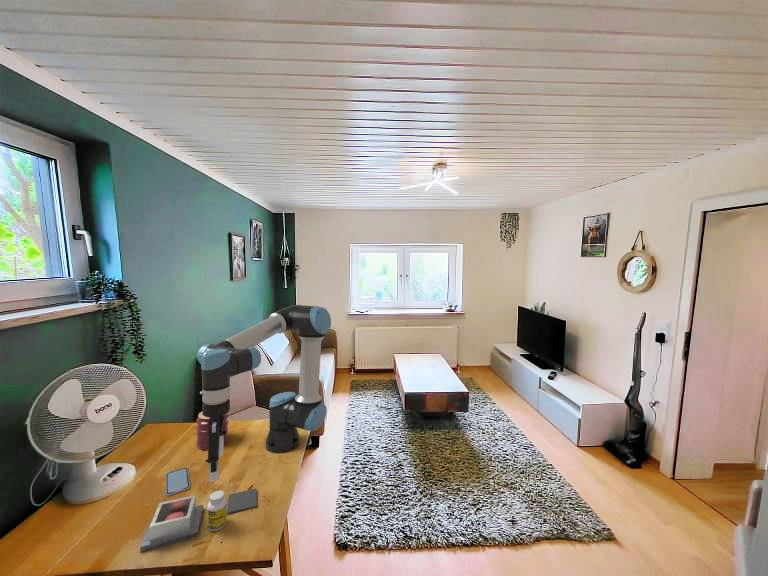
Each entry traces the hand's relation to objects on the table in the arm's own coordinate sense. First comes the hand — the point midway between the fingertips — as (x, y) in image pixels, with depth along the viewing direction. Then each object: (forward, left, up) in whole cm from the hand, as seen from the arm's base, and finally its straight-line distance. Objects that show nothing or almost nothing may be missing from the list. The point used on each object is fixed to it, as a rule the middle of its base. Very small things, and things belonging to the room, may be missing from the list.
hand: (216, 467), depth 98 cm
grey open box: (+12, -3, -19) cm, 22 cm away
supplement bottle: (0, 0, -19) cm, 19 cm away
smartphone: (+16, -28, -19) cm, 38 cm away
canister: (+7, -53, -19) cm, 57 cm away
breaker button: (+12, -3, -17) cm, 21 cm away
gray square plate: (-7, -8, -19) cm, 21 cm away
